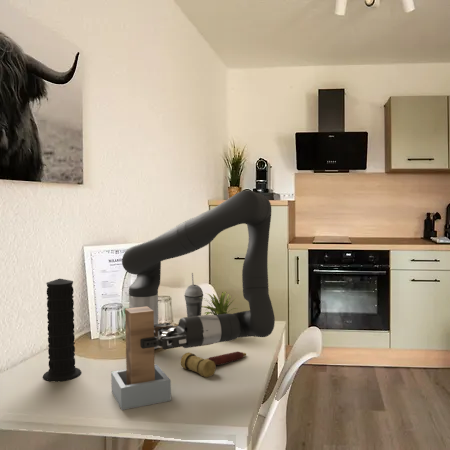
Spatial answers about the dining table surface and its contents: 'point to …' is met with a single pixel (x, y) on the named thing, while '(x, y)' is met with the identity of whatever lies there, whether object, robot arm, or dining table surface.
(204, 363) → the gavel
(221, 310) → the house plant
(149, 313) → the walnut handle block
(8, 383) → the dining table surface
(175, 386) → the dining table surface
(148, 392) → the box
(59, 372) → the handle grip
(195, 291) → the beverage cup
